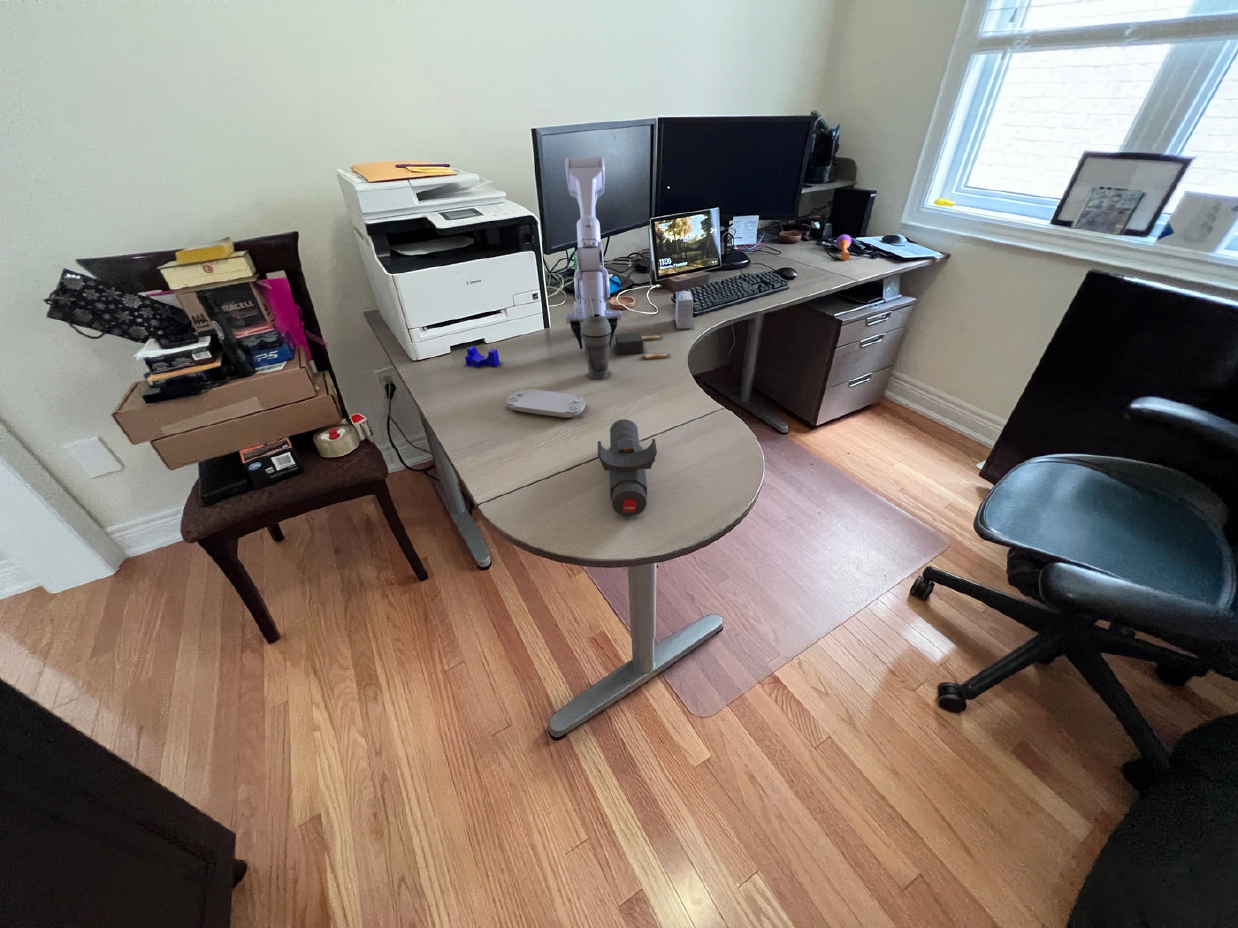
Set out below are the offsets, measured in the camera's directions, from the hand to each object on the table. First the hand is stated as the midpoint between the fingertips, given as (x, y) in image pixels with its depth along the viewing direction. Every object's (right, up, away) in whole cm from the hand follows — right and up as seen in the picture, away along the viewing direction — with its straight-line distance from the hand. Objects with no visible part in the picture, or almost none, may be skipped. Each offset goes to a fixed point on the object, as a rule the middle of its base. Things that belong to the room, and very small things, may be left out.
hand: (595, 346), depth 134 cm
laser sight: (+8, -35, -43) cm, 56 cm away
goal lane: (+16, 0, +2) cm, 16 cm away
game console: (-10, -19, -22) cm, 31 cm away
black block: (+9, 0, +2) cm, 9 cm away
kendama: (+99, +55, +70) cm, 133 cm away
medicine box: (+26, +10, +15) cm, 32 cm away
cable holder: (-30, -6, -3) cm, 30 cm away
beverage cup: (+1, -10, -10) cm, 14 cm away
